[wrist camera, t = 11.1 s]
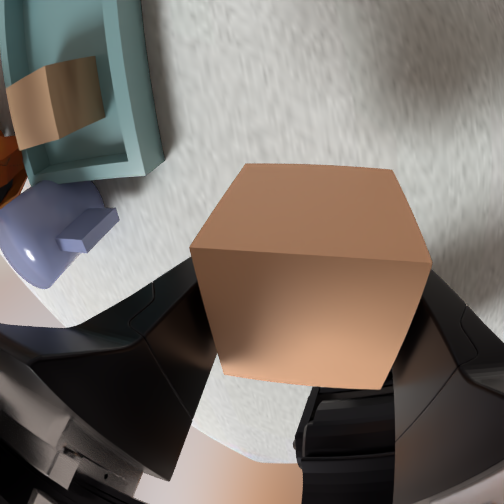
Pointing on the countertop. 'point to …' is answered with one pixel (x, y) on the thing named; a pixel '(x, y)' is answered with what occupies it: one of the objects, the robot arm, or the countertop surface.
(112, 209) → the mug
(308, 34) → the countertop surface
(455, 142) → the countertop surface
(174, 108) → the countertop surface
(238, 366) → the block terracotta
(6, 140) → the tool
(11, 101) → the block walnut
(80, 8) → the tray
